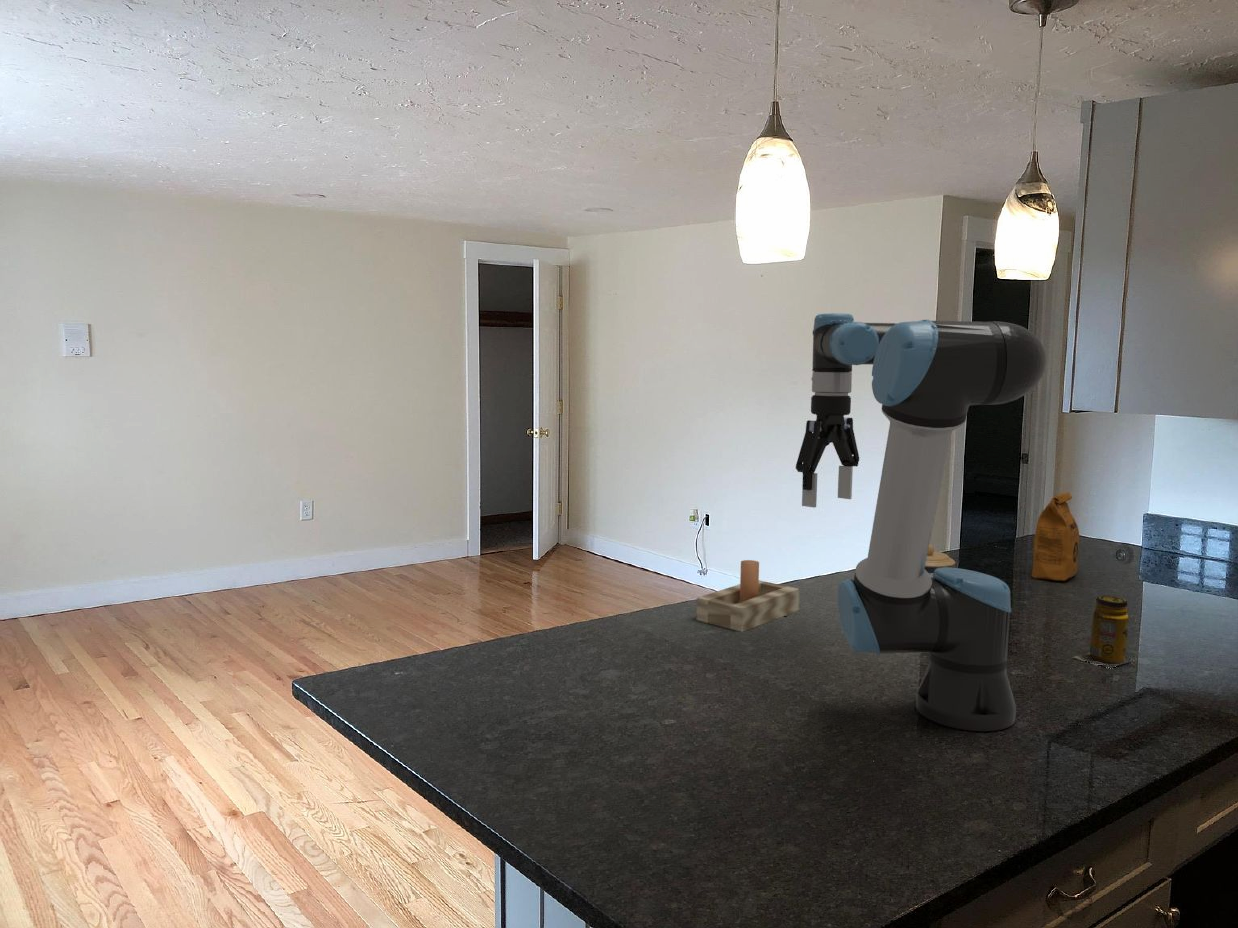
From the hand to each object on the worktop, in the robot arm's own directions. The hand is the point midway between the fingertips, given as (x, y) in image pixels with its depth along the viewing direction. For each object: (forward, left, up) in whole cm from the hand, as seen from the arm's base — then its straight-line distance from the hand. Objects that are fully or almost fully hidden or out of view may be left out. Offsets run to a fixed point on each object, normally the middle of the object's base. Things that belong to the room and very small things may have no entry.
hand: (827, 502), depth 179 cm
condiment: (+29, -44, -29) cm, 60 cm away
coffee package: (+90, -16, -29) cm, 96 cm away
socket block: (+6, +22, -29) cm, 37 cm away
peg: (+6, +22, -29) cm, 37 cm away
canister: (+27, -9, -29) cm, 41 cm away
